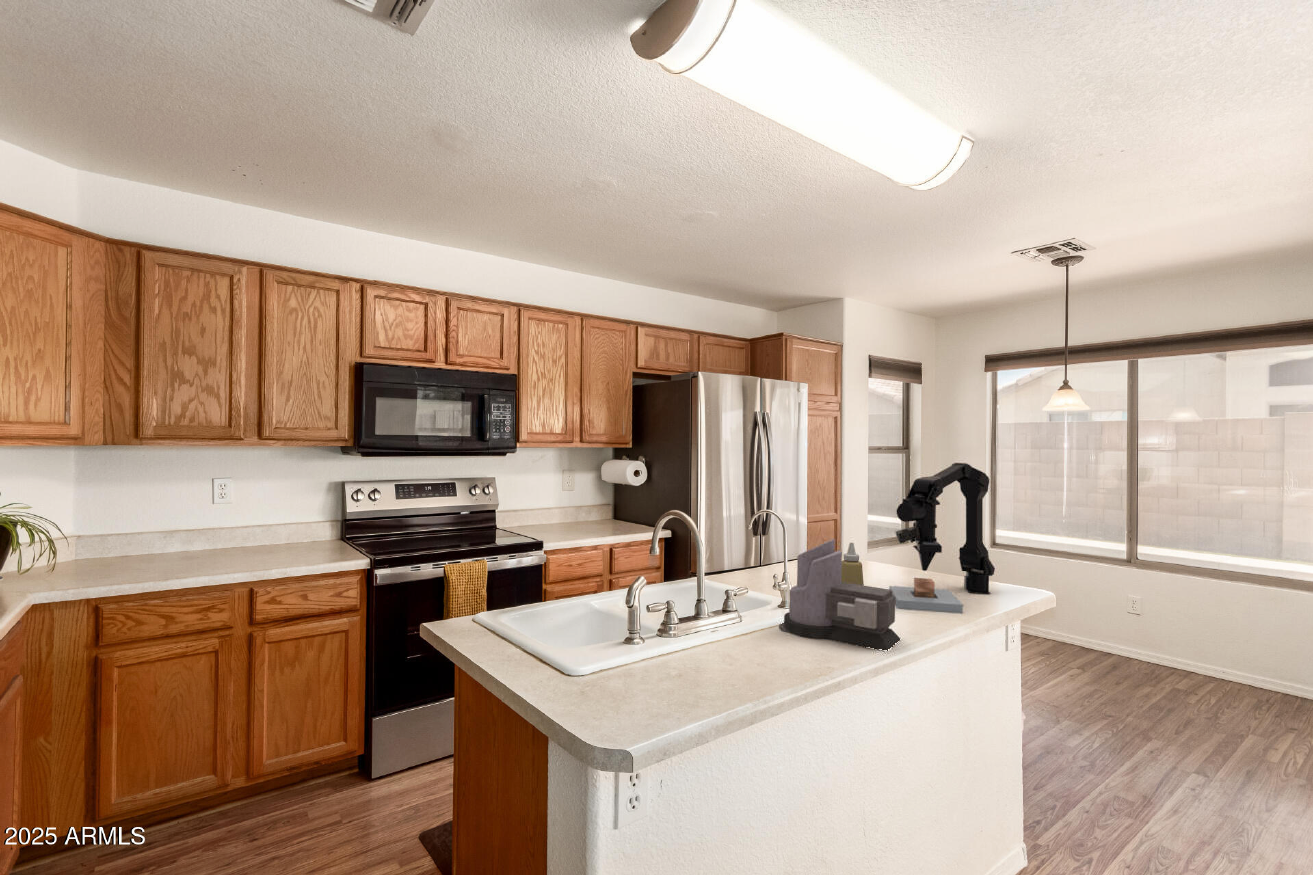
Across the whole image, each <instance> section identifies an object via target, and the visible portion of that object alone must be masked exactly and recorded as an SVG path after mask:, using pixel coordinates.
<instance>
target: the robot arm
mask: <svg viewBox="0 0 1313 875" xmlns="http://www.w3.org/2000/svg"><path fill="white" fill-rule="evenodd" d="M955 482H957V483H958V484H959V488H960V492H961V493H962V495H963V496H964V498H965V543H964V544H963V546H962V547H959V550H958V552H959V556H958V560H959V564H960V569H961V571H962V572H965V575H964V581H963V582H964V583H963V588H964V589H965V590H966V591H967V592H968V593H969V594H982V595H983V594H984V595H987V594H988V595H991V592H990V590H989V589H990V577H992V576H994V574H995V570H996V568H995V566H994V565H993V563H992V561H991V560H990V556H989V550H988V549H987V548H986V546H985V543H984V541H983V540H984V538H983V536H984V535H983V529H984V528H983V527H984V526H983V525H984V524H983V522H984V521H983V520H984V519H983V517H984V516H983V512H984V511H983V510H984V509H983V505H984V504H983V502H984V501H983V499H984V497H985V496H986V495H987V493H988V492H989V485H990V478H989V476H988V475H987V473H986V472H984V471H982V470H979V469H978V468H975V467H973V466H972V465H970V464H969V463H966V462H954V463H952V464H951V465H949V466H948V467H946V468H944V469H942V470H941V471H939V472H937V473H935V474H933V475H931V476H923V477H920V478H916V479H915V480H914V481H913V483H912V486H911V487H910V489H909V491H908V494H907V495H906V497H905V498H903V499H902V503H900V504H899V505H898V506H897V508H896V515H897V518H898V519H899V520H900V521H901V522H903V523H906V522H907V523H908V522H909V523H910V522H913V523H912V526H909V527H906V528H902V529H899V530H896V531H895V532H894V533H895V535H896V538H897V540H898V542H899V544H904V543H906V542H910V543H911V544H913V543H914V542H915V545H912V548H914V549H915V550H916V551H917V552H918V557H919V560H920V561H919V562H920V566H921V570H922V572H923V571H924V572H927V571H928V568H929V567H930V565H931V562H933V561H932V560H933V559H934V557H935V556H936V554H939V553H940V554H941V553H942V552H943V551H942V550H943V549H942V548H943V546H942V545H941V544H940V543H939V542H938V541H937V540H938V538H937V537H936V529H937V528H938V524H936V519H937V518H936V517H937V516H936V514H937V506H939V505H941V502H940V501H939V500H938V499H937V498H938V497H939V496H940V495H941V494H943V492H944V489H945V488H946V487H948V486H949V485H952V484H953V483H955Z"/></svg>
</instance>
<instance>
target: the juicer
mask: <svg viewBox="0 0 1313 875" xmlns="http://www.w3.org/2000/svg"><path fill="white" fill-rule="evenodd" d="M835 544H836V540H835V538H833V539H831V540H828V541H826V542H824V543H821V544H819V545H817V546H815V547H813V548H810V549H808V550H806V551H804V552H802V553H799V554H798V555H797V560H796V561H797V565H796V566H797V570H796V572H797V573H796V574H797V576H796V585H795V586H792V587H791V588H790V589H789V600H788V601H789V602H788V605H789V607H788V608H789V610H788V612H785V613H784V616H783V622H784V623H782V622H781V623H782V624H781V623H779V625H778V629H779V631H780V632H783V633H789V634H791V635H794V636H798V637H800V638H805V639H811V640H812V639H813V640H828V641H833V642H837V643H842V644H846V643H848V644H847V645H850V646H851V645H852V646H856V645H858V647H861V646H862V648H866V647H870V648H874V649H873V650H875V649H882V650H887V651H888V649H890V648H891V647H893V645H895V643H897V642H898V641H899V642H900V641H901V640H900V639H901V637H899V636H898V634H897V633H896V632H895V631H894V630H893V629H892V628H890V627H891V626H892V625H893V624H894V623H895V622H896V605H895V596H894V595H892V590H889V589H888V588H883V587H877V586H876V587H875V586H869V585H865V584H864V585H857V584H851V583H844V582H841V570H842V561H843V558H842V556H843V551H841V550H840V549H839V550H836V551H835V549H836V548H835V547H836V546H835ZM899 642H898V643H899ZM898 643H897V644H898ZM895 646H896V645H895ZM870 648H869V649H870ZM893 648H894V647H893Z"/></svg>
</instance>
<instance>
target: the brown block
mask: <svg viewBox="0 0 1313 875" xmlns="http://www.w3.org/2000/svg"><path fill="white" fill-rule="evenodd" d="M913 587H914V597H924V598H934V589H935V581H934V580H933V578H925V577H922V578H921V577H913Z"/></svg>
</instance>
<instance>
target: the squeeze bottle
mask: <svg viewBox="0 0 1313 875" xmlns="http://www.w3.org/2000/svg"><path fill="white" fill-rule="evenodd" d="M841 582H844V583H851V584H857V585H864V586H865V584H864V582H865V581H864V571H863V563H862V562H861V561H860V554H858V553H856V548H855V543H854V542H849V544H848V548H847V552H846V553H843V559H842V570H841Z"/></svg>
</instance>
